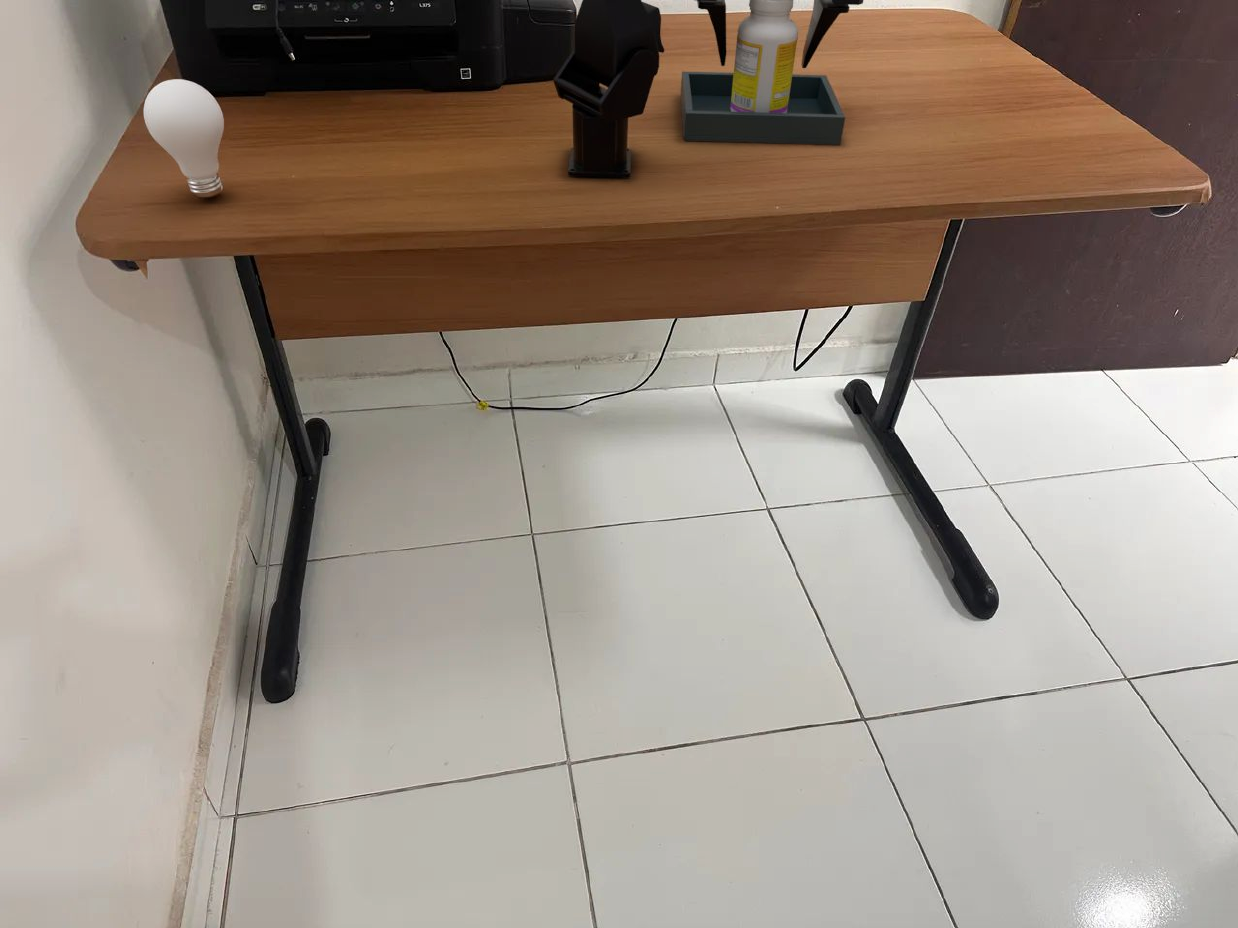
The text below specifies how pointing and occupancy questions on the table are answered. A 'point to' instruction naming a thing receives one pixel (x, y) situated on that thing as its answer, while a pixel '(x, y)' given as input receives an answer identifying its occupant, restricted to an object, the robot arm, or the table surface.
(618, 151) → the robot arm
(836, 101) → the tray
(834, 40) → the table surface
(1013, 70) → the table surface
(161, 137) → the light bulb
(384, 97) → the table surface
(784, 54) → the supplement bottle
